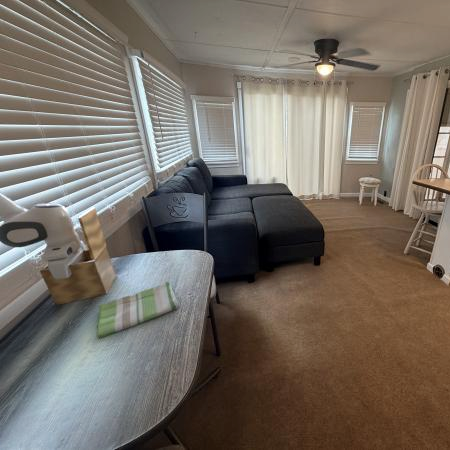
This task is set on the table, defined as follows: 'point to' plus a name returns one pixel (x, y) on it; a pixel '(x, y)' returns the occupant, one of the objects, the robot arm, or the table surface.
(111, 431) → the table surface
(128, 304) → the dish towel
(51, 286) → the box
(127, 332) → the table surface
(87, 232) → the lid
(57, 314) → the table surface
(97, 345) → the table surface
